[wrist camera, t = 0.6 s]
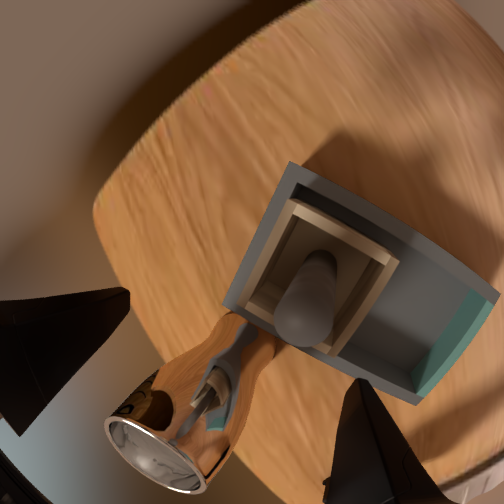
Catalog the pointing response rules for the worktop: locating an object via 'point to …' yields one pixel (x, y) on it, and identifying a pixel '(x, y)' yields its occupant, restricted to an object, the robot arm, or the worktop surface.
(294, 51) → the worktop surface
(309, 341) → the crate
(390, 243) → the bay
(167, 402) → the beer glass
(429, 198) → the worktop surface
